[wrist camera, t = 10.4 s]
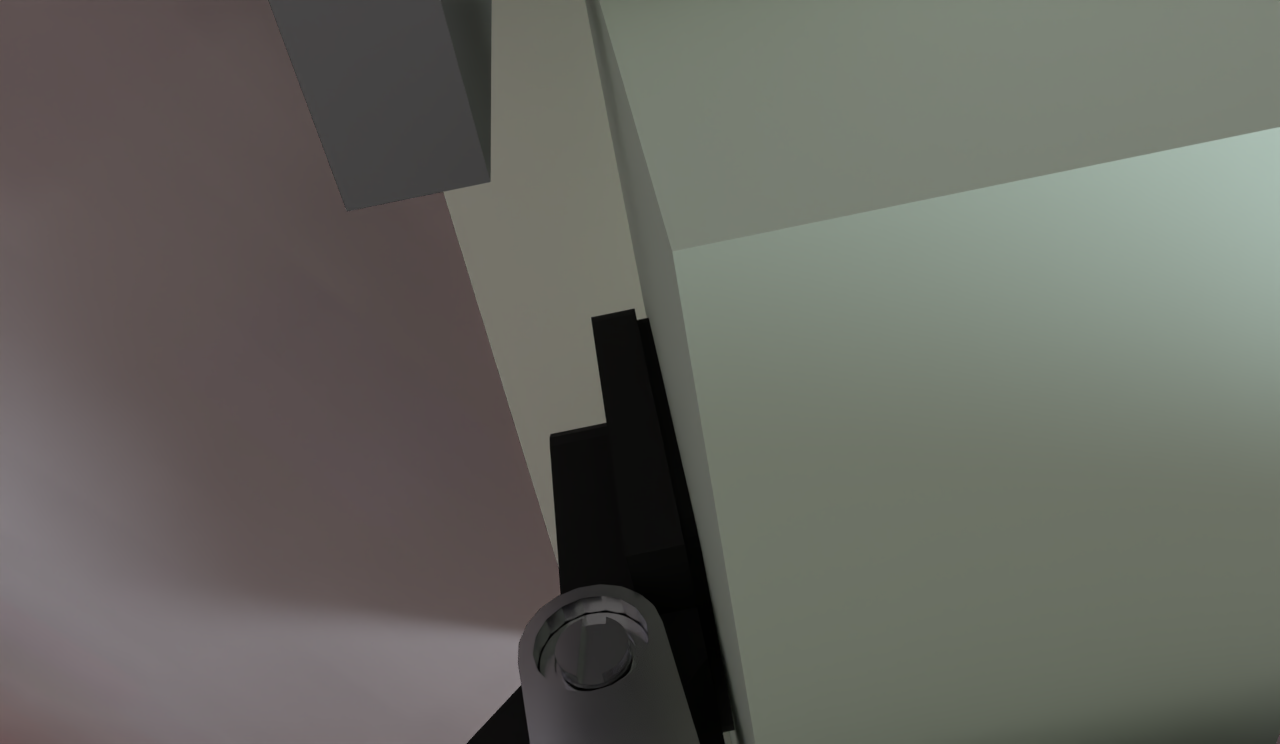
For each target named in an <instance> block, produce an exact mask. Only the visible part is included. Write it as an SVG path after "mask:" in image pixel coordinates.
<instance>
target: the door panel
mask: <svg viewBox="0 0 1280 744" xmlns="http://www.w3.org/2000/svg"><path fill="white" fill-rule="evenodd" d="M585 3H586V8H587V14H588V19H589V24H590V29H591V34H592V39H593V44H594V50H595V55H596V60H597V65H598V70H599V75H600V81H601V86H602V91H603V96H604V101H605V106H606V111H607V117H608V122H609V127H610V132H611V137H612V142H613V147H614V153H615V158H616V163H617V168H618V173H619V178H620V183H621V189H622V194H623V199H624V204H625V209H626V214H627V219H628V225H629V230H630V235H631V240H632V245H633V250H634V256H635V261H636V266H637V271H638V276H639V281H640V286H641V292H642V297H643V302H644V307H645V312H646V317H647V318H649V321H650V325H651V330H652V334H653V338H654V343H655V347H656V352H657V356H658V360H659V365H660V369H661V373H662V378H663V382H664V386H665V391H666V395H667V400H668V404H669V408H670V413H671V417H672V421H673V426H674V430H675V434H676V439H677V443H678V448H679V452H680V456H681V461H682V465H683V469H684V474H685V478H686V482H687V487H688V491H689V495H690V500H691V504H692V509H693V513H694V517H695V522H696V526H697V531H698V536H699V540H700V545H701V550H702V555H703V560H704V566H705V571H706V576H707V582H708V587H709V592H710V598H711V603H712V609H713V614H714V619H715V625H716V630H717V635H718V641H719V646H720V651H721V657H722V662H723V668H724V673H725V678H726V684H727V689H728V694H729V700H730V705H731V711H732V716H733V721H734V727H735V730H733V731H729V734H730V739H731V743H732V744H1276V742H1277V739H1278V736H1279V733H1280V0H585Z"/></svg>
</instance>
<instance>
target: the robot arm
mask: <svg viewBox="0 0 1280 744" xmlns="http://www.w3.org/2000/svg"><path fill="white" fill-rule="evenodd" d="M591 321H592V328H593V335H594V342H595V349H596V356H597V362H598V369H599V376H600V383H601V390H602V396H603V403H604V410H605V417H606V423H602V424H597V425H592V426H587V427H582V428H578V429H573V430H568V431H563V432H558V433H553V434H550V457H551V470H552V484H553V497H554V510H555V524H556V537H557V551H558V564H559V577H560V591H561V595H559V596H557V597H556V598H554V599H553V600H552V601H550V602H549V603H547V604H546V605H545V606H543V607H542V608H540V609H539V611H538V612H537V613H536V614H535V615H534V617H533V618H532V619H531V620H530V621H529V623H528V624H527V625H526V627H525V630H524V632H523V635H522V637H521V639H520V642H519V649H518V666H519V673H520V680H521V686H520V687H519V688H518V689H517V690H516V691H515V692H514V693H513V694H512V695H511V697H510V698H509V699H508V700H507V701H506V702H505V703H504V704H503V705H502V706H501V707H500V708H499V709H498V710H497V712H496V713H495V714H494V715H493V716H492V717H491V718H490V719H489V720H488V721H487V722H486V723H485V724H484V725H483V727H482V728H481V729H480V730H479V731H478V732H477V733H476V734H475V735H474V736H473V737H472V738H471V739H470V740H469V742H468V743H467V744H725V741H724V736H723V732H728V731H733V730H735V727H734V721H733V716H732V711H731V705H730V700H729V694H728V689H727V684H726V678H725V673H724V668H723V662H722V657H721V651H720V646H719V641H718V635H717V630H716V625H715V619H714V614H713V609H712V603H711V598H710V592H709V587H708V582H707V576H706V571H705V566H704V560H703V555H702V550H701V545H700V540H699V536H698V531H697V526H696V522H695V517H694V513H693V509H692V504H691V500H690V495H689V491H688V487H687V482H686V478H685V474H684V469H683V465H682V461H681V456H680V452H679V448H678V443H677V439H676V434H675V430H674V426H673V421H672V417H671V413H670V408H669V404H668V400H667V395H666V391H665V386H664V382H663V378H662V373H661V369H660V365H659V360H658V356H657V352H656V347H655V343H654V338H653V334H652V330H651V325H650V321H649V318H644V319H639V320H637V318H636V313H635V309H629V310H624V311H619V312H614V313H609V314H604V315H600V316H595V317H591ZM1276 744H1280V733H1279V736H1278V739H1277V742H1276Z"/></svg>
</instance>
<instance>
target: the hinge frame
mask: <svg viewBox="0 0 1280 744" xmlns="http://www.w3.org/2000/svg"><path fill="white" fill-rule="evenodd" d="M268 1H269V3H270V6H271V9H272V11H273V14H274V17H275V19H276V22H277V25H278V27H279V30H280V33H281V36H282V38H283V41H284V44H285V46H286V49H287V52H288V54H289V57H290V60H291V62H292V65H293V68H294V70H295V73H296V76H297V79H298V81H299V84H300V87H301V89H302V92H303V95H304V97H305V100H306V103H307V105H308V108H309V111H310V113H311V116H312V119H313V122H314V124H315V127H316V130H317V132H318V135H319V138H320V140H321V143H322V146H323V148H324V151H325V154H326V156H327V159H328V162H329V165H330V167H331V170H332V173H333V175H334V178H335V181H336V183H337V186H338V189H339V191H340V194H341V197H342V199H343V202H344V205H345V208H346V210H347V211H351V210H356V209H361V208H366V207H371V206H376V205H380V204H385V203H390V202H395V201H400V200H405V199H410V198H415V197H420V196H425V195H429V194H434V193H439V192H443V193H444V196H445V200H446V203H447V206H448V209H449V213H450V216H451V219H452V222H453V226H454V229H455V232H456V236H457V239H458V242H459V245H460V249H461V252H462V255H463V258H464V262H465V265H466V268H467V271H468V275H469V278H470V281H471V284H472V288H473V291H474V294H475V297H476V301H477V304H478V307H479V310H480V314H481V317H482V320H483V323H484V327H485V330H486V333H487V336H488V340H489V343H490V346H491V349H492V353H493V356H494V359H495V363H496V366H497V369H498V372H499V376H500V379H501V382H502V385H503V389H504V392H505V395H506V398H507V402H508V405H509V408H510V411H511V415H512V418H513V421H514V424H515V428H516V431H517V434H518V437H519V441H520V444H521V447H522V450H523V454H524V457H525V460H526V463H527V467H528V470H529V473H530V477H531V480H532V483H533V486H534V490H535V493H536V496H537V499H538V503H539V506H540V509H541V512H542V516H543V519H544V522H545V525H546V529H547V532H548V535H549V538H550V542H551V545H552V548H553V551H554V555H555V558H556V561H557V564H558V551H557V537H556V524H555V510H554V497H553V484H552V470H551V457H550V434H553V433H558V432H563V431H568V430H573V429H578V428H582V427H587V426H592V425H597V424H602V423H606V417H605V410H604V403H603V396H602V390H601V383H600V376H599V369H598V362H597V356H596V349H595V342H594V335H593V328H592V321H591V317H595V316H600V315H604V314H609V313H614V312H619V311H624V310H629V309H635V313H636V318H637V320H639V319H644V318H647V317H646V312H645V307H644V302H643V297H642V292H641V286H640V281H639V276H638V271H637V266H636V261H635V256H634V250H633V245H632V240H631V235H630V230H629V225H628V219H627V214H626V209H625V204H624V199H623V194H622V189H621V183H620V178H619V173H618V168H617V163H616V158H615V153H614V147H613V142H612V137H611V132H610V127H609V122H608V117H607V111H606V106H605V101H604V96H603V91H602V86H601V81H600V75H599V70H598V65H597V60H596V55H595V50H594V44H593V39H592V34H591V29H590V24H589V19H588V14H587V8H586V3H585V0H268ZM558 568H559V564H558ZM723 736H724V741H725V744H732V743H731V739H730V734H729V731H728V732H723Z"/></svg>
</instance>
